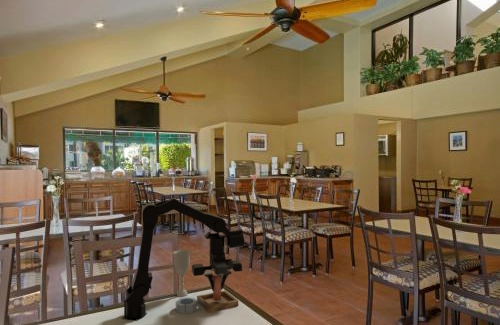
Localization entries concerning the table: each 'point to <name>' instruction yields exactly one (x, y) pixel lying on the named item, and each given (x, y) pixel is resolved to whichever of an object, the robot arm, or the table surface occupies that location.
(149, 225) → the robot arm
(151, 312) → the table surface
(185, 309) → the grey hex nut
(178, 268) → the chalice
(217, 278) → the dowel
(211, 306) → the tray
